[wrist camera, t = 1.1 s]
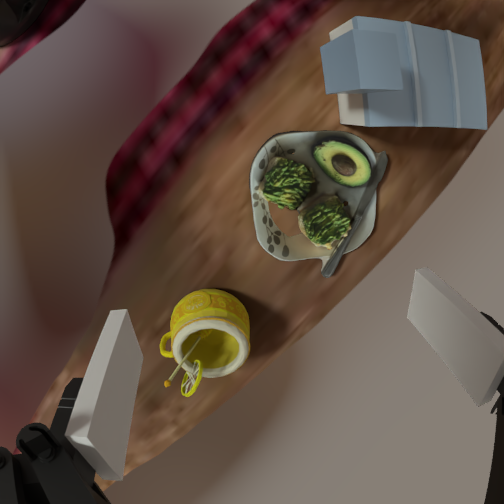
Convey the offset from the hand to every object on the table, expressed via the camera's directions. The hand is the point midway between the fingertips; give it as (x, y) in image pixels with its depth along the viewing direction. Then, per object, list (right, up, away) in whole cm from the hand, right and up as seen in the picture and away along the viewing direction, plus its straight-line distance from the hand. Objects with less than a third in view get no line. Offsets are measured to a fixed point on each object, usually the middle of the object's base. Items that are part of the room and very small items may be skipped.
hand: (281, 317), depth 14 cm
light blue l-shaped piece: (+16, +23, +15) cm, 32 cm away
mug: (-8, -7, +32) cm, 33 cm away
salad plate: (+7, +11, +27) cm, 29 cm away
